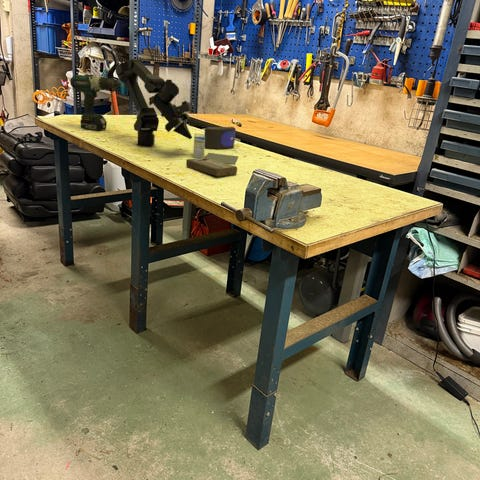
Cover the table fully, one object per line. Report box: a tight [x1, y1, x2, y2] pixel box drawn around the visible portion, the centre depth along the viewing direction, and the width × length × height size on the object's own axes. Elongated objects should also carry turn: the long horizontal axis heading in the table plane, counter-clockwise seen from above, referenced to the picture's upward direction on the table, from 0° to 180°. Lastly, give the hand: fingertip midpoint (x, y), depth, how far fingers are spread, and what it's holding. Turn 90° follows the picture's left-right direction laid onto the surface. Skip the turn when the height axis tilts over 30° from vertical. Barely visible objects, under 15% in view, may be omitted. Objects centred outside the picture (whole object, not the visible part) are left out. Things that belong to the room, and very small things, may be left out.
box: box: [185, 157, 238, 178], centre depth 158 cm, size 11×17×3 cm, turn 45°
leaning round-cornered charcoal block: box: [203, 126, 237, 150], centre depth 194 cm, size 16×5×9 cm, turn 124°
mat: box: [204, 152, 239, 166], centre depth 178 cm, size 13×14×1 cm
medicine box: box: [192, 132, 205, 159], centre depth 176 cm, size 8×4×9 cm, turn 5°
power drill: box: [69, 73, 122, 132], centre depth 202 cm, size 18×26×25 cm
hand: (191, 138), depth 175 cm, fingers closed
